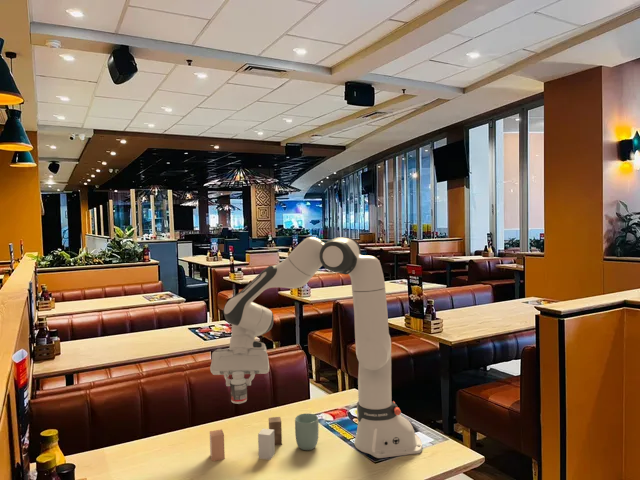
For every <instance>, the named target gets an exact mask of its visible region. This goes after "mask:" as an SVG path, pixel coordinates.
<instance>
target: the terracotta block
mask: <svg viewBox="0 0 640 480" xmlns="http://www.w3.org/2000/svg"><path fill="white" fill-rule="evenodd" d="M209 448H210V449H209V450H210V459H211V461H212V462H214V461H220V460H225V459H226V456H225V452H226V451H225V434H224V431H223V429H222V428H221V429H216V430H211V431H209Z"/></svg>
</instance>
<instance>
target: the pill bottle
mask: <svg viewBox="0 0 640 480" xmlns="http://www.w3.org/2000/svg"><path fill="white" fill-rule="evenodd" d="M231 377H232V378H231V386H230V401H231V403H233V404H238V405H240V404H244V403H246V402H247V400H248V389H247V388H248V386H247V385H246V379H247V378H246V377H245V374H244V372H243V371H235V372H233V373H232V374H231Z"/></svg>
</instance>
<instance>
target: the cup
mask: <svg viewBox="0 0 640 480" xmlns="http://www.w3.org/2000/svg"><path fill="white" fill-rule="evenodd" d="M294 430H295V431H294V433H295V442H296V445H297V447H298V448H299V449H301V450H303V451H311V450H313V449H315V448H316V447H317V445H318V441H319V432H320V431H319V416H317V414H314V413H301V414H298V415H296V417H294Z"/></svg>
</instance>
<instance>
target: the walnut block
mask: <svg viewBox="0 0 640 480" xmlns="http://www.w3.org/2000/svg"><path fill="white" fill-rule="evenodd" d="M268 429H273V430H274V440H275V446H281V445H283V440H282V439H283V433H282V432H283V431H282V430H283V429H282V419H281V416H273V417H268Z"/></svg>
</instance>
